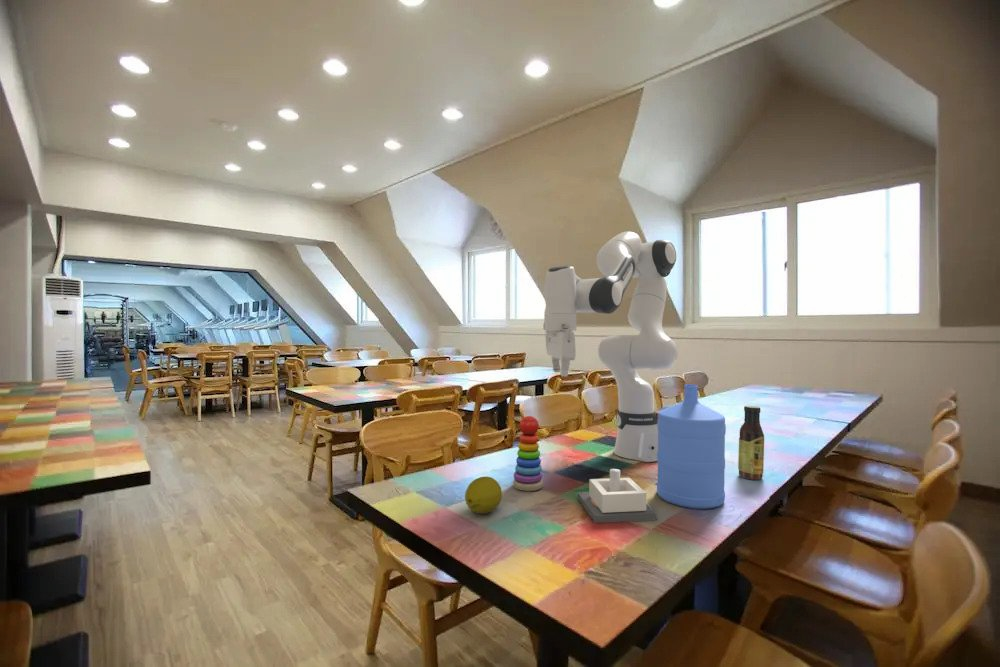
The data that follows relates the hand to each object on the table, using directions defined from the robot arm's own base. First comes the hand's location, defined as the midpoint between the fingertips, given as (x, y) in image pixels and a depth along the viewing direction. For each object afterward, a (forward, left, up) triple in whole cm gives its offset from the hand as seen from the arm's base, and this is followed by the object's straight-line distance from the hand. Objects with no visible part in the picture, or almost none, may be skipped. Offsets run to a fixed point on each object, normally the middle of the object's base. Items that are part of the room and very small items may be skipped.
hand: (560, 374), depth 129 cm
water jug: (-29, +17, -29) cm, 45 cm away
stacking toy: (+10, +6, -29) cm, 32 cm away
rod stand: (-8, +22, -29) cm, 37 cm away
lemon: (+23, +21, -29) cm, 43 cm away
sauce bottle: (-53, +5, -29) cm, 61 cm away
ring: (-8, +23, -27) cm, 37 cm away
